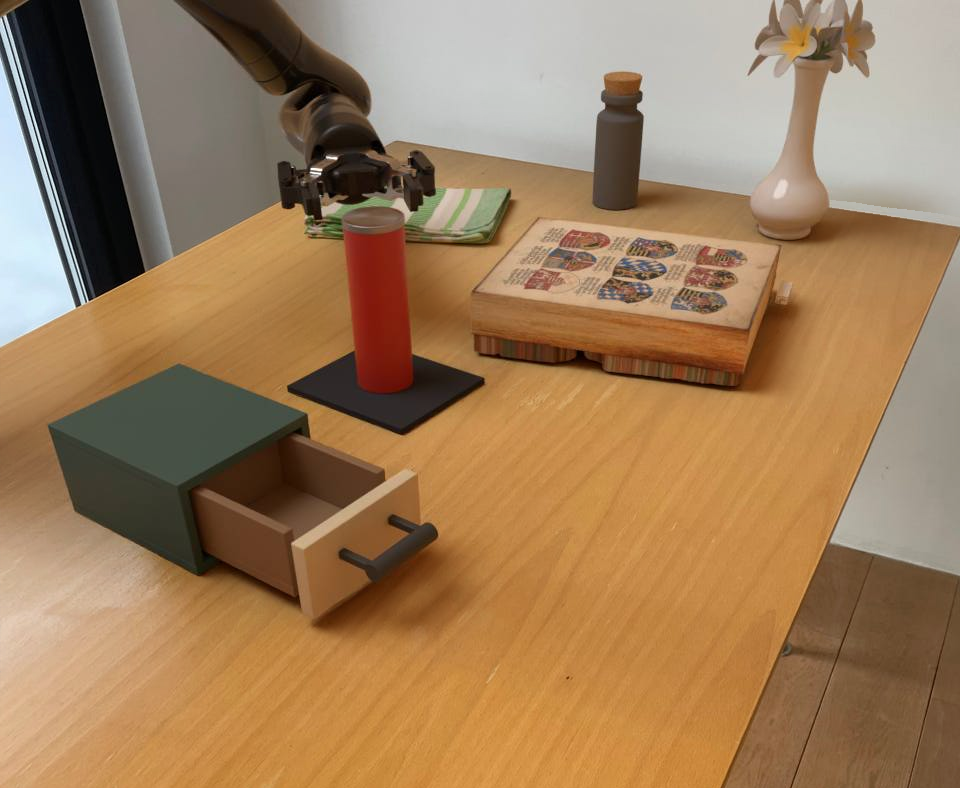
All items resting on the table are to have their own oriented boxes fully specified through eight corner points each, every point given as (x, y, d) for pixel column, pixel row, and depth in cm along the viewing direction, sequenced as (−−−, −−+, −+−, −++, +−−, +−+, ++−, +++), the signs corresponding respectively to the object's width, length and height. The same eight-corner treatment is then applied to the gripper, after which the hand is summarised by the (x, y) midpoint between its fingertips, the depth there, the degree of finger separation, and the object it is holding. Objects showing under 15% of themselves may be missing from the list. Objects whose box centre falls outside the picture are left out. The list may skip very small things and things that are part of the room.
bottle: (583, 200, 138) (589, 73, 128) (621, 193, 140) (629, 67, 130) (607, 213, 134) (616, 83, 124) (645, 205, 136) (656, 77, 126)
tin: (351, 393, 96) (334, 226, 86) (363, 367, 100) (348, 205, 90) (408, 395, 95) (398, 228, 85) (418, 369, 99) (409, 206, 89)
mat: (287, 391, 97) (286, 385, 97) (373, 346, 105) (372, 340, 104) (401, 435, 91) (401, 429, 90) (484, 383, 98) (484, 377, 98)
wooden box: (791, 297, 113) (543, 265, 120) (803, 237, 109) (545, 208, 116) (759, 399, 95) (471, 355, 103) (771, 333, 91) (470, 292, 98)
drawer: (464, 559, 75) (462, 490, 71) (357, 642, 68) (349, 570, 65) (291, 483, 83) (281, 418, 79) (181, 551, 76) (164, 483, 73)
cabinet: (319, 499, 83) (307, 413, 78) (198, 576, 76) (177, 486, 71) (196, 445, 90) (178, 362, 85) (74, 510, 82) (46, 424, 77)
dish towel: (491, 248, 125) (490, 225, 123) (302, 239, 128) (299, 216, 126) (511, 199, 138) (511, 178, 136) (340, 193, 141) (338, 171, 139)
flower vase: (833, 208, 134) (879, -20, 118) (837, 260, 120) (889, 10, 104) (730, 202, 136) (761, -23, 120) (722, 252, 123) (756, 7, 106)
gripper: (265, 116, 100) (278, 166, 88) (412, 105, 102) (444, 152, 90) (276, 197, 105) (290, 255, 93) (416, 185, 107) (447, 240, 95)
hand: (366, 204), depth 91 cm, fingers open, 8 cm apart
